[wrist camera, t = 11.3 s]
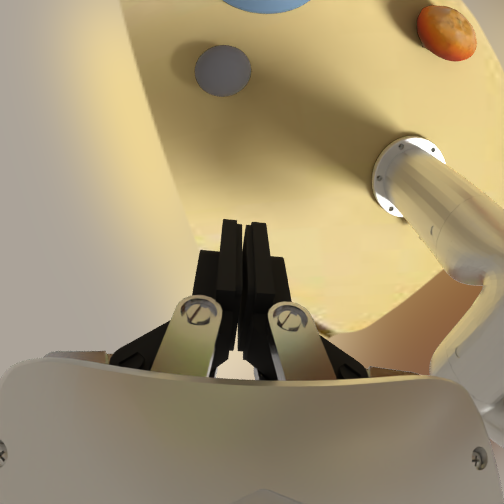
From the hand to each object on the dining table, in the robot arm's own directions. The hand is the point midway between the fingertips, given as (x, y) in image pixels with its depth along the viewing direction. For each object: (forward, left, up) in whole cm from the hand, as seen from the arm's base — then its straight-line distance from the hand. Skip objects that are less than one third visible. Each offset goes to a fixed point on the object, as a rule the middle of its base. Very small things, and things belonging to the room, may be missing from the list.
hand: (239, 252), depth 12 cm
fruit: (0, -30, -27) cm, 40 cm away
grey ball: (+6, -2, -24) cm, 25 cm away
